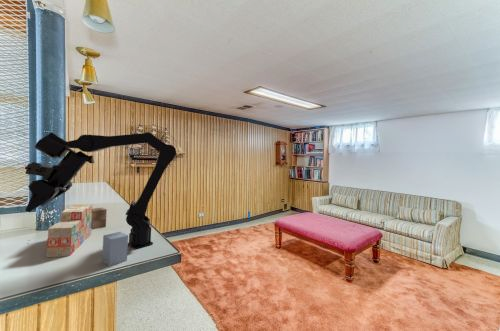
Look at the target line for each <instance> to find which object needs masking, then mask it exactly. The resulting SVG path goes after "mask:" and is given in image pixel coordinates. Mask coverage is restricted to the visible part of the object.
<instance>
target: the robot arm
mask: <svg viewBox="0 0 500 331" xmlns="http://www.w3.org/2000/svg"><path fill="white" fill-rule="evenodd" d="M143 144H147V145H149V147H151V148H153V149H155V151H157V152H158V155H157V159H156V162H155V165H154V168H153V170H152V172H151V174H150V176H149V177H148V179H147V181H146V183H145V186H144V188H143V190H142V192H141V194H140V195H139V197H138V199H137V200H136V202H135V201H133V200H132V201H131V203H130V205H129V208H128V209H127V210H126V212H125V216H126V218H125V222H126V224H128V225H129V226H131V228H130V232H129V235H128V246H130V247H132V248H134V249H141V248H144V247H146V246H147V245H148V246H151V245H154V242H153V241H151V240H152V226H151V219H150V218H149V216H147V215H146V214H147V209H148V205H149V203H150V200H151V199H152V196H153V194H154V192H155V191H156V189H157V186H158V184H159V182H160V180H161V178H162V177H163V174H164V172H165V170H166V169H167V167H168V166H169V165H170V164H171V162H172V161H173V159H175V157H176V155H177V150H176V147H175V146H174V145H172V144H167V143H166V142H163V141H162V140H161V139H159V138H158V137H157V136H155V135H154V134H153V133H151V132H150V131H148V132H142V133H133V134H132V133H131V134H121V135H120V134H119V135H98V134H97V135H96V134H81V135H80V136H79V137H78V138H77V139H73V140H69V141H67V140H65V139H64V138H62V137H60V135H58V134H57V133H54V132H50V133H48V134H47V135H45V136H43V137H42V138H41V139H39V140H38V141H37V142H36V143H35V146H34V149H36V150H37V151H39V152H41V153H43V154H45V155H46V156H48V157H50V158H52V159H54V160H55V159H58V158H59V159H61V160H59V162H58V163H57V164H54V165H52V166H49V165H45V164H42V162H41V163H40V162H37V161H33V162H31V163H30V162H29V163H27V165H26V166H25V167H24V169H25V171H24V172H25V174H26V175H33V176H38V177H41V179H36V180H33V181H31V182H30V184H29V185H27V187H28V189H29V191H30V192H31V197H30V199H29V201H28V203H27V206H26V208H25V211H26V212H28V213H31V212H32V211H33V210H35V209H37V208H38V207H40V206H41V207H42V206H44V205H46V204H48V203H49V202H51V201H52V200H54V199H56V198H58V197H60V196H61V195H63V194H65V193H67V191H69V190H70V189H71V187H73V183H72V180H73V178H75V177H77V175H78V173H79V171H81V169H82V168H83V166H84V165H85V164H86V163H89V164H95V159H94V155H88V154H86V153H96V152H99V151H103V150H106V149H109V148H115V147H125V146H132V145H133V146H134V145H143ZM74 149H76V150H79V151H78V152H77V151H75V150H74ZM150 244H151V245H150Z"/></svg>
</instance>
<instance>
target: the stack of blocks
mask: <svg viewBox="0 0 500 331" xmlns="http://www.w3.org/2000/svg"><path fill="white" fill-rule="evenodd" d="M92 209H93V206H92V204H89V205H88V204H87V205H85V204H84V205H83V204H82V205H79V204H78V205H72V206H69V207H68V208H66V209H64V210H63V211H61V212H60V221H58V222H57V223H55V224H53V225H51V226H50V227H49V228H48V229H47V238H46V239H47V240H46V258H58V257H70V256H71V255H72V254H73V253H75V251H76V250H77V249H78V248H79V247H80V246H81V245H82V244H83V243H84V242H85V241H86V240H87V239H88V238H89V237H90V236H91V235H92V228H91V220H92Z"/></svg>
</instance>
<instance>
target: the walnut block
mask: <svg viewBox="0 0 500 331" xmlns="http://www.w3.org/2000/svg"><path fill="white" fill-rule="evenodd" d="M106 227H107V209H106V208H104V207H96V208H92V220H91V230H97V229H103V228H106Z"/></svg>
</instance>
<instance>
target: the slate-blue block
mask: <svg viewBox="0 0 500 331" xmlns="http://www.w3.org/2000/svg"><path fill="white" fill-rule="evenodd" d="M128 243H129V235H128V234H126V233H124V232H122V231H117V232H114V233H113V232H112V233H108V234H104V235H103V239H102V258H101V259H102V260H101V261H102V262H103V263H104V264H106V265H107V266H108V267H111V266H115V265H117V264H121V263H124V262H127V261H128V248H129V245H128Z"/></svg>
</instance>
